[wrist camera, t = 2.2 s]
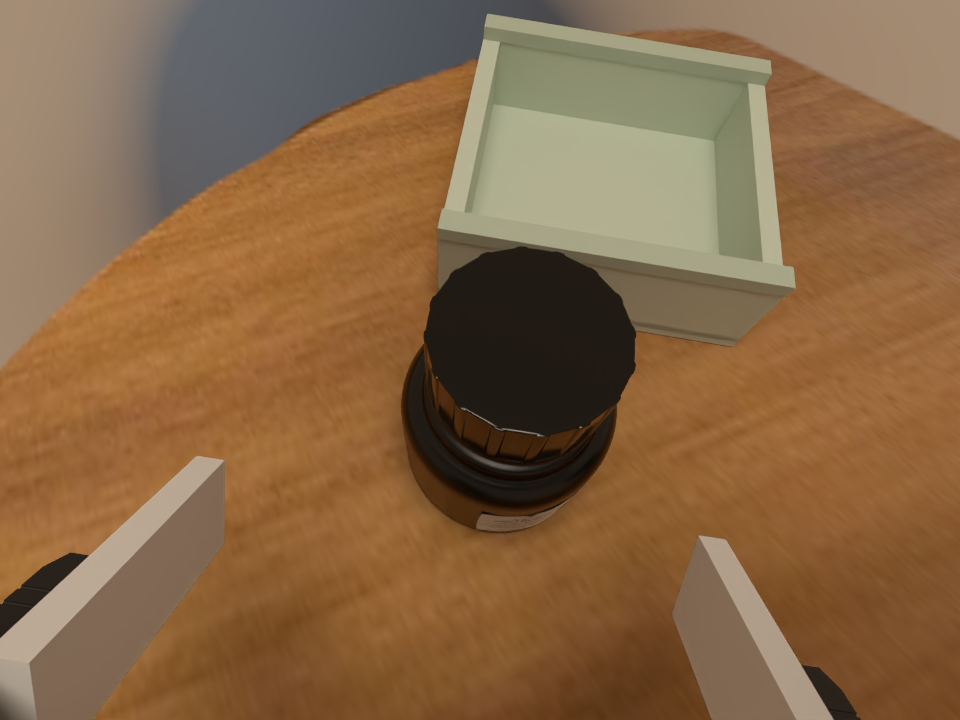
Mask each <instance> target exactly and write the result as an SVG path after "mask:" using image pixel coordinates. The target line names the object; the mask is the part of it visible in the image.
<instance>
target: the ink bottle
mask: <svg viewBox="0 0 960 720" xmlns="http://www.w3.org/2000/svg"><path fill="white" fill-rule="evenodd" d="M635 338H636V331H635V328H634V326H632V323H631V321H630V318H629V316H628V314H627V311H626V309H625V307H624V305H623V299H622V298H621V296H620V295H619V294H618V293H616V292H615V291H614V290H613V289H612V288H611V287H610V286H609V285H608V284H607V283H606V282H605V281H604V280H603V279H602V278H601V277H600V276H599V274H598V272H597V271H596V270H594V269H593V268H591V267H587V266H585V265H583V264H581V263H579V262H577V261H575V260H573V259H571V258H569V257H567V256H565V254H563V253H561V252H558V251H553V252H552V251H546V250H540V249H533V248H528V247H526V246H518V247H516V248H512V249H506V250H500V251H495V252H485V253H483V254H481V255H479V257H478V258H476V259H474V260H472V261H471V262H469V263H467V264H465V265H464V266H462V267H461V268H459V269H455V270H454V271H453V272H451V274H450V275H449V278H448V279H447V281H446V282H445V283H444V285H443V286H442V287H441V289H440V290H439V291H438V293H437V294H436V295H435V296H433V298H432V300H431V302H430V311H429V316H428V321H427V326H426V330H425V331H424V344H423V345H422V347H421V348H420V349H419V351H418V352H417V354H416V356H415V357H414V359H413V361H412V363H411V365H410V367H409V370H408V372H407V375H406V378H405V382H404V386H403V391H402V399H401V414H402V423H403V429H404V435H405V440H406V446H407V452H408V458H409V462H410V466H411V469H412V472H413V474H414V477H415V479H416V481H417V483H418V484H419V486H420V488H421V489H422V491H423V492H424V494H425V495H426V496H427V497H428V499H429V500H430V501H431V502H432V503H433V504H434V505H435V506H436V507H437V508H438V509H439V510H441V511H442V512H443V513H444V514H446V515H447V516H449V517H450V518H452V519H453V520H455V521H457V522H459V523H461V524H463V525H465V526H468V527H471V528H473V529H477V530H481V531H485V532H493V533H509V532H516V531H520V530H524V529H527V528H530V527H532V526H534V525H537V524H539V523H541V522H543V521H544V520H546V519H547V518H549V517H550V516H552V515H553V514H554V513H555V512H557V511H558V510H559V509H560V508H561V507H562V506H563V505H564V504H565V503H566V502H567V501H568V500H569V499H570V498H571V497H572V496H573V495H574V494H575V493H576V492H577V491H578V490H579V489H580V488H581V487H582V486H583V485H584V484H585V483H586V482H587V481H588V480H589V479H590V478H591V477H592V475H593V474H594V473H595V472H596V470H597V469H598V468H599V466H600V465H601V463H602V461H603V460H604V458H605V456H606V454H607V452H608V450H609V447H610V445H611V442H612V439H613V435H614V431H615V426H616V417H617V403H618V402H619V401H620V399H621V394H622V392H623V390H624V388H625V386H626V384H627V382H628V380H629V378H630V377H631V376H632V374H633V373H634V371H635V367H636V363H635V361H634V360H635Z"/></svg>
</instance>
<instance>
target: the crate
mask: <svg viewBox="0 0 960 720" xmlns="http://www.w3.org/2000/svg"><path fill="white" fill-rule="evenodd" d="M771 75H772V72H771V63H770V60H764V59H758V58H752V57H746V56H740V55H734V54H728V53H721V52H715V51H709V50H703V49H697V48H691V47H685V46H679V45H673V44H667V43H661V42H655V41H649V40H643V39H637V38H631V37H625V36H619V35H613V34H607V33H601V32H594V31H589V30H583V29H577V28H570V27H565V26H558V25H553V24H547V23H541V22H535V21H529V20H522V19H516V18H510V17H504V16H498V15H492V14H487V18H486V22H485V27H484V40H483V44H482V48H481V53H480V57H479V61H478V65H477V70H476V74H475V78H474V83H473V87H472V91H471V96H470V100H469V104H468V109H467V113H466V117H465V122H464V126H463V130H462V135H461V139H460V143H459V148H458V152H457V156H456V161H455V165H454V169H453V174H452V178H451V182H450V187H449V191H448V195H447V200H446V204H445V208H444V209H442V211H441V215H440V219H439V224H438V228H437V239H438V291H439V290H440V289H441V287H442V286H443V285H444V283H445V282H446V281H447V279H448V278H449V275H450V274H451V272H453V271H454V270H455V269H459V268H461V267H462V266H464V265H465V264H467V263H469V262H471V261H472V260H474V259H476V258H478V257H479V255H481V254H483V253H485V252H495V251H500V250H506V249H512V248H516V247H518V246H526V247H528V248H533V249H540V250H546V251H552V252H553V251H558V252H561V253H563V254H565V256H567V257H569V258H571V259H573V260H575V261H577V262H579V263H581V264H583V265H585V266H587V267H591V268H593V269H594V270H596V271H597V272H598V274H599V276H600V277H601V278H602V279H603V280H604V281H605V282H606V283H607V284H608V285H609V286H610V287H611V288H612V289H613V290H614V291H615V292H616V293H618V294H619V295H620V296H621V298H622V299H623V305H624V307H625V309H626V311H627V314H628V316H629V318H630V321H631V323H632V326H634V328H635V331H641V332H647V333H653V334H659V335H665V336H671V337H677V338H683V339H689V340H694V341H700V342H706V343H712V344H718V345H724V346H730V347H732V346H733V345H734V344H735V343H736V342H737V341H738V340H740V339H741V338H742V337H743V336H744V335H745V334H746V333H747V332H748V331H749V330H750V329H751V328H752V327H753V326H754V325H755V324H756V323H757V322H758V321H760V320H761V319H762V318H763V317H764V316H765V315H766V314H767V313H768V312H769V311H770V310H771V309H772V308H773V307H774V306H775V305H776V304H777V303H779V302H780V301H781V300H782V299H783V298H784V297H787V296H788V295H789V294H790V293H791V292H792V291H793V290H794V289H795V288H796V286H795V277H794V268H793V267H789V266H783V262H782V252H781V242H780V232H779V222H778V213H777V203H776V193H775V183H774V174H773V164H772V154H771V144H770V134H769V125H768V115H767V105H766V95H765V84H766V83H767V81H768V79H769V78H770V76H771Z"/></svg>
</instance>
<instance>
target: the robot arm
mask: <svg viewBox="0 0 960 720" xmlns="http://www.w3.org/2000/svg"><path fill="white" fill-rule="evenodd" d="M224 489H225V460H220V459H213V458H207V457H201V456H196V457H195V458H194V459H193V460H192V461H191V462H190V463H189V464H188V465H186V466H185V467H184V468H183V469H182V470H181V471H180V472H179V473H178V474H177V475H176V476H175V477H174V478H172V479H171V480H170V481H169V482H168V483H167V484H166V485H165V486H164V487H163V488H162V489H161V490H160V491H158V492H157V493H156V494H155V495H154V496H153V497H152V498H151V499H150V500H149V501H148V502H147V503H145V504H144V505H143V506H142V507H141V508H140V509H139V510H138V511H137V512H136V513H135V514H134V515H133V516H131V517H130V518H129V519H128V520H127V521H126V522H125V523H124V524H123V525H122V526H121V527H120V528H119V529H117V530H116V531H115V532H114V533H113V534H112V535H111V536H110V537H109V538H108V539H107V540H106V541H105V542H103V543H102V544H101V545H100V546H99V547H98V548H97V549H96V550H95V551H94V552H93V553H92V554H90V555H82V554H76V553H69V554H67V555H65V556H63V557H61V558H59V559H57V560H55V561H53V562H51V563H49V564H47V565H46V566H44V567H42V568H41V569H40V570H39V571H37V572H36V573H35V574H34V575H33V576H32V577H30V578H29V579H28V580H27V581H26V582H25V583H24V584H22V586H21V588H20V589H17V590H15V591H14V592H13V593H12V594H11V595H10V596H8V597H7V598H6V599H5V600H4V602H3V604H0V720H92V719H93V718H94V717H95V715H96V714H97V713H98V711H99V710H100V709H101V707H102V706H103V705H104V703H105V702H106V701H107V699H108V698H109V697H110V695H111V694H112V693H113V691H114V690H115V689H116V687H117V686H118V685H119V683H120V682H121V681H122V679H123V678H124V677H125V675H126V674H127V673H128V671H129V670H130V669H131V667H132V666H133V665H134V663H135V662H136V661H137V659H138V658H139V657H140V655H141V654H142V653H143V651H144V650H145V649H146V647H147V646H148V645H149V643H150V642H151V641H152V639H153V638H154V637H155V635H156V634H157V633H158V631H159V630H160V629H161V627H162V626H163V625H164V623H165V622H166V621H167V619H168V618H169V617H170V615H171V614H172V613H173V611H174V610H175V609H176V607H177V606H178V605H179V603H180V602H181V601H182V599H183V598H184V597H185V595H186V594H187V593H188V592H189V590H190V589H191V588H192V586H193V585H194V584H195V582H196V581H197V580H198V578H199V577H200V576H201V574H202V573H203V572H204V570H205V569H206V568H207V566H208V565H209V564H210V562H211V561H212V560H213V558H214V557H215V556H216V554H217V553H218V552H219V550H220V549H221V548H222V546H223V545H224ZM672 616H673V618H674V621H675V624H676V626H677V629H678V632H679V634H680V637H681V640H682V642H683V645H684V648H685V650H686V653H687V656H688V658H689V661H690V664H691V666H692V669H693V672H694V674H695V677H696V679H697V682H698V685H699V687H700V690H701V693H702V695H703V698H704V701H705V703H706V706H707V709H708V711H709V714H710V717H711V719H712V720H861V719H860V718H858V717H857V716H856V712H855V710H854V709H853V707H852V706H851V704H850V702H849V701H848V699H847V698H846V696H845V695H844V693H843V692H842V690H841V689H840V688H839V687H838V686H837V685H836V684H835V683H834V682H833V681H832V680H831V679H830V678H829V677H828V676H827V675H826V674H825V673H824V672H823V671H822V670H821V669H820V668H817V667H810V666H804V665H801V664H800V663H799V661H798V659H797V658H796V656H795V654H794V653H793V651H792V649H791V648H790V646H789V644H788V643H787V641H786V639H785V638H784V636H783V634H782V633H781V631H780V629H779V628H778V626H777V624H776V623H775V621H774V619H773V618H772V616H771V614H770V613H769V611H768V609H767V608H766V606H765V604H764V603H763V601H762V599H761V598H760V596H759V594H758V593H757V591H756V589H755V588H754V586H753V584H752V583H751V581H750V579H749V578H748V576H747V574H746V572H745V571H744V569H743V567H742V566H741V564H740V562H739V561H738V559H737V557H736V556H735V554H734V552H733V551H732V549H731V547H730V546H729V544H728V542H727V541H726V539H719V538H713V537H707V536H700V535H698V538H697V541H696V544H695V547H694V550H693V553H692V556H691V559H690V562H689V565H688V568H687V571H686V574H685V577H684V580H683V583H682V586H681V588H680V591H679V594H678V597H677V600H676V603H675V606H674V609H673V612H672Z"/></svg>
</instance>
